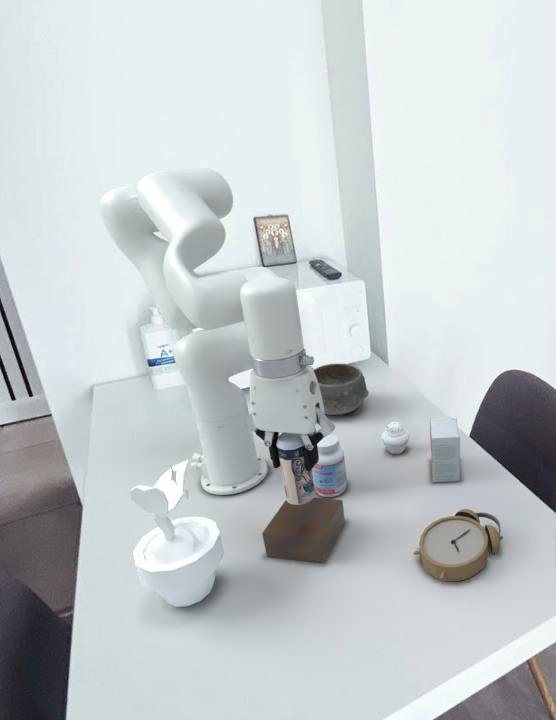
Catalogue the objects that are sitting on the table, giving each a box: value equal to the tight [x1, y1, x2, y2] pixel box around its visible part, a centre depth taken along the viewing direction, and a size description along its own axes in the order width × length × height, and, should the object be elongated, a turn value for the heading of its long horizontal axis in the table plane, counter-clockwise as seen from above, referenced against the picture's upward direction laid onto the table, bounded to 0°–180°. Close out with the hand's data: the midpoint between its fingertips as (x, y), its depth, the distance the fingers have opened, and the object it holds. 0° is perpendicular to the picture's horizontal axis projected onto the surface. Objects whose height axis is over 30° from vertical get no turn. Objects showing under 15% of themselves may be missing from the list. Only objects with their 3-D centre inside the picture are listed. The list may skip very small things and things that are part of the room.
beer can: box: [276, 432, 317, 505], centre depth 88 cm, size 5×5×12 cm
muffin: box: [380, 421, 411, 455], centre depth 118 cm, size 6×6×7 cm
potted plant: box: [129, 459, 225, 608], centre depth 79 cm, size 13×12×25 cm
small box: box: [429, 416, 461, 483], centre depth 110 cm, size 8×6×10 cm
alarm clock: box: [412, 508, 504, 582], centre depth 90 cm, size 11×5×15 cm
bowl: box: [313, 363, 370, 416], centre depth 134 cm, size 14×15×10 cm
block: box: [261, 496, 346, 564], centre depth 93 cm, size 10×10×5 cm
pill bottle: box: [312, 433, 348, 498], centre depth 105 cm, size 6×6×11 cm
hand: (295, 463), depth 88 cm, fingers closed on beer can, 4 cm apart
